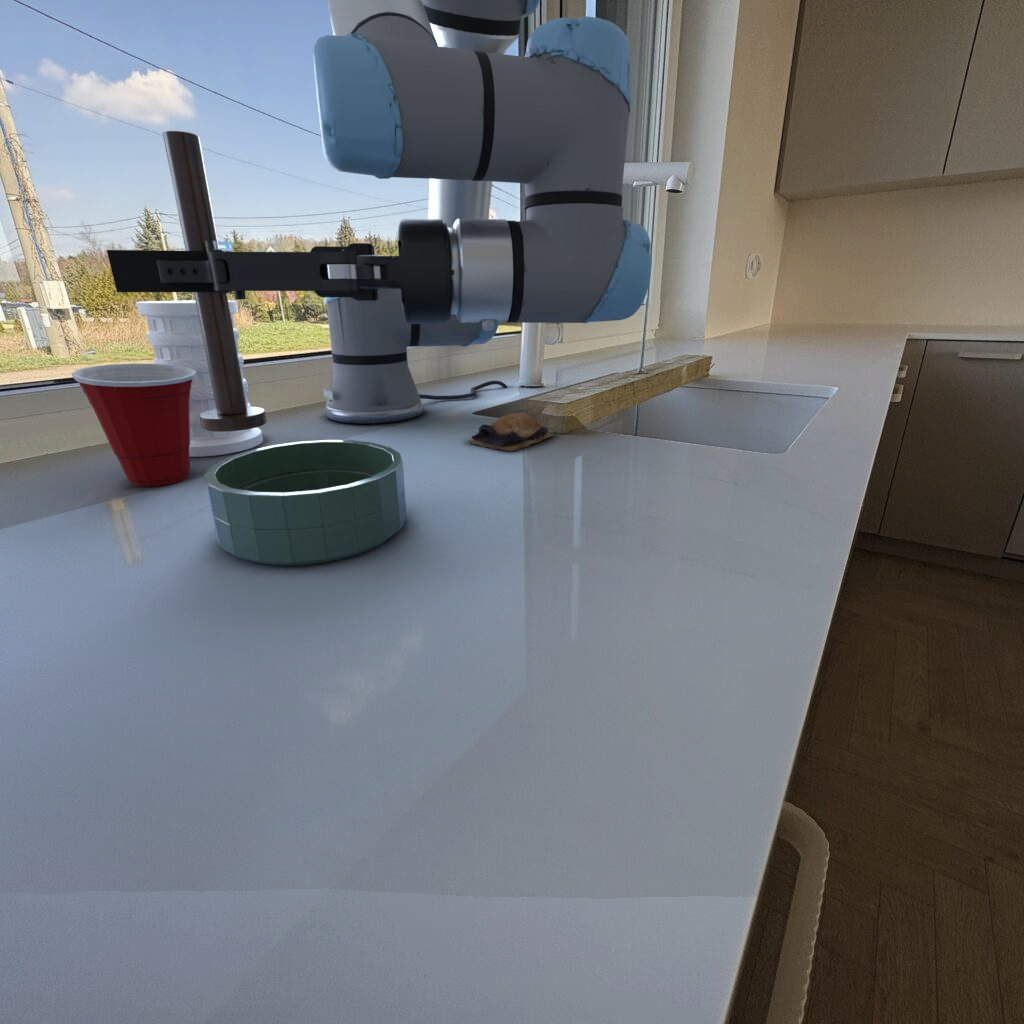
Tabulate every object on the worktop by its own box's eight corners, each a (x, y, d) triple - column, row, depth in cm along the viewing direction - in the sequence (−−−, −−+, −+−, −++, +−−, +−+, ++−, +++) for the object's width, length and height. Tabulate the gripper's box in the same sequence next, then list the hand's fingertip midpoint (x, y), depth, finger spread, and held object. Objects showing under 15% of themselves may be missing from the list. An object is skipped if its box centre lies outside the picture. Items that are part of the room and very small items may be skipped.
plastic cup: (167, 499, 57) (138, 377, 52) (77, 491, 59) (41, 374, 54) (237, 467, 67) (217, 362, 62) (157, 461, 69) (133, 360, 64)
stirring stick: (234, 416, 49) (184, 144, 41) (279, 420, 47) (235, 139, 40) (187, 428, 45) (122, 129, 37) (234, 434, 43) (176, 122, 36)
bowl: (305, 490, 59) (297, 434, 57) (437, 510, 54) (434, 449, 52) (175, 550, 46) (157, 480, 44) (334, 585, 41) (323, 507, 38)
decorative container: (218, 431, 83) (192, 299, 76) (281, 438, 79) (260, 300, 72) (146, 451, 73) (108, 302, 66) (213, 460, 69) (181, 303, 62)
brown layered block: (511, 428, 85) (511, 404, 84) (558, 437, 80) (559, 411, 79) (463, 442, 77) (462, 415, 76) (512, 453, 72) (512, 424, 71)
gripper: (460, 331, 39) (82, 335, 35) (447, 318, 53) (175, 320, 49) (456, 207, 36) (45, 198, 32) (444, 228, 50) (155, 223, 46)
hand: (124, 271), depth 41 cm, fingers closed on stirring stick, 2 cm apart
